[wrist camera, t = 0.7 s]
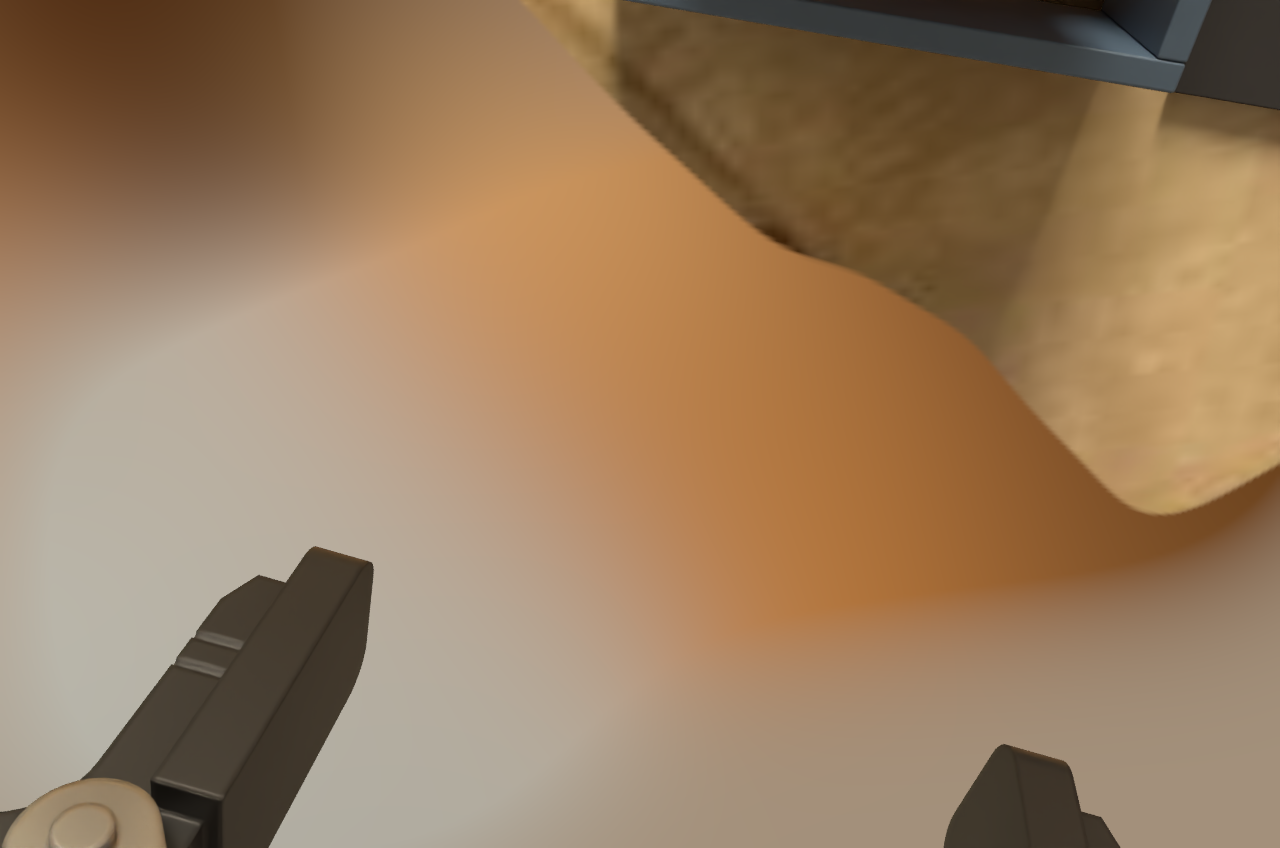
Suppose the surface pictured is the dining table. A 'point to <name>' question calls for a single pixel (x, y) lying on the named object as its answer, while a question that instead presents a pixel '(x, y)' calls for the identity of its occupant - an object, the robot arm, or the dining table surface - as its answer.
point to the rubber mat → (1236, 54)
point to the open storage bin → (1001, 31)
